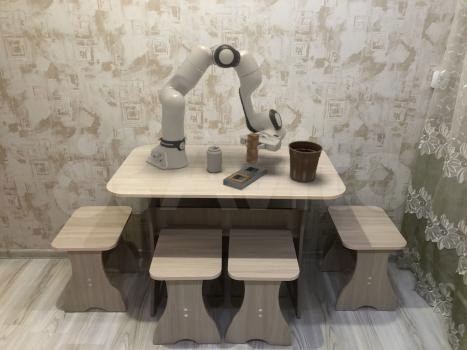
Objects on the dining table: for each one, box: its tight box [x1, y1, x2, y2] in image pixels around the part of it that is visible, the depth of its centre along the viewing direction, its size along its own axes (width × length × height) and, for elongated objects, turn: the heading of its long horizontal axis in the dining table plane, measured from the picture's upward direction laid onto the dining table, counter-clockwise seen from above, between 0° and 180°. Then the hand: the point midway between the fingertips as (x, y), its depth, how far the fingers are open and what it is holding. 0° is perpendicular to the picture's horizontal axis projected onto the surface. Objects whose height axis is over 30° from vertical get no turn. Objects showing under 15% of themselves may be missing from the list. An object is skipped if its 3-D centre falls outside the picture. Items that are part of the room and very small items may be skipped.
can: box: [206, 145, 223, 174], centre depth 196 cm, size 8×8×12 cm
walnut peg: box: [245, 132, 259, 165], centre depth 189 cm, size 4×4×14 cm
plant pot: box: [287, 140, 324, 183], centre depth 189 cm, size 16×16×16 cm
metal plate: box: [222, 163, 268, 191], centre depth 190 cm, size 10×24×3 cm, turn 147°
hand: (251, 146), depth 188 cm, fingers closed on walnut peg, 4 cm apart
